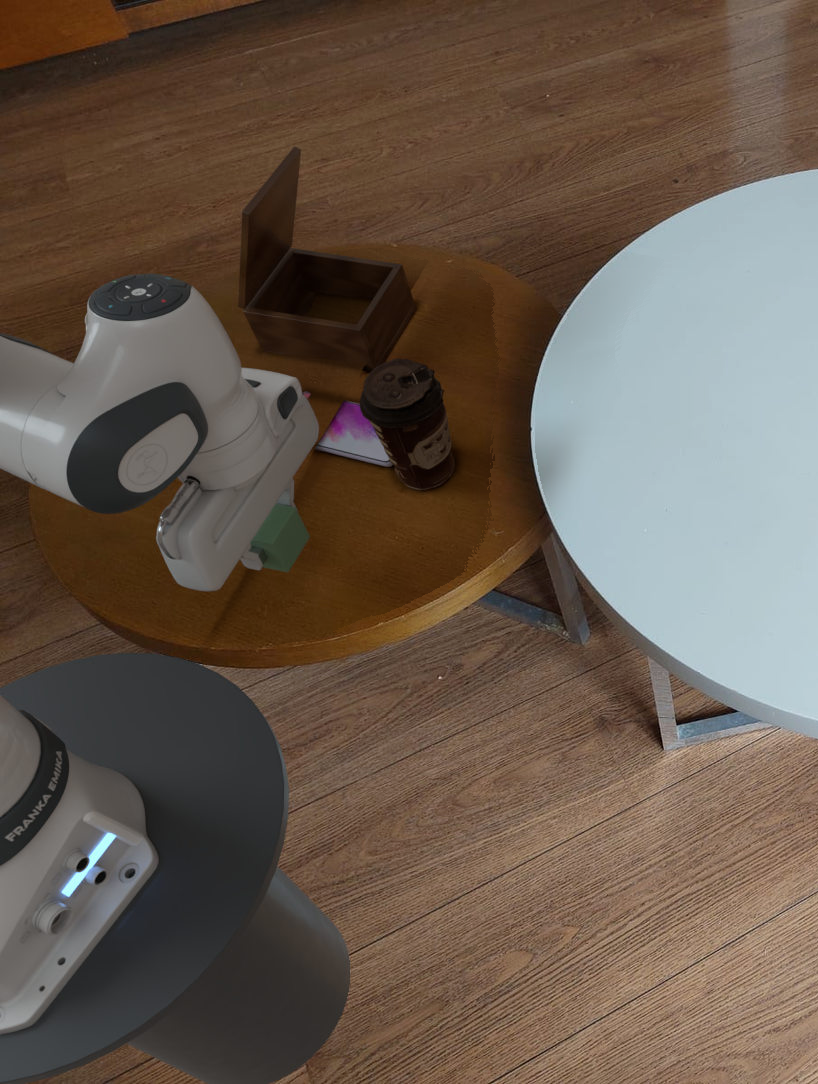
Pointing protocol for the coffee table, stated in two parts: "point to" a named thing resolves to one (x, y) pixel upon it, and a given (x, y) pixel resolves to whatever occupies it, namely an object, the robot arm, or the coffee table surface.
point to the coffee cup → (410, 421)
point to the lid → (268, 227)
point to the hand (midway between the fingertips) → (272, 539)
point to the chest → (291, 332)
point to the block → (281, 537)
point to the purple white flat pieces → (352, 436)
